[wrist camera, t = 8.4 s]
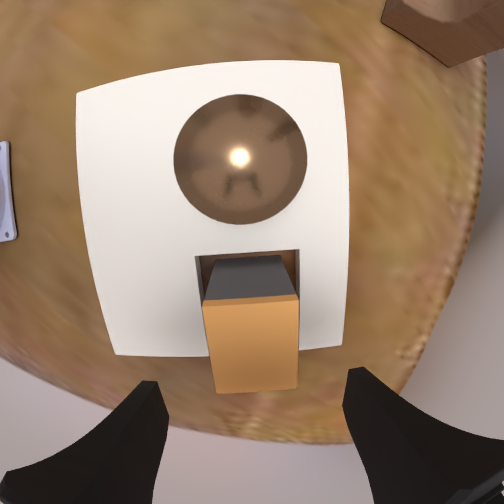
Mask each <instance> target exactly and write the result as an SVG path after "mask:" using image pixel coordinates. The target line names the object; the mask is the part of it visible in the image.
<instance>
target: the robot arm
mask: <svg viewBox="0 0 504 504" xmlns="http://www.w3.org/2000/svg"><path fill="white" fill-rule="evenodd" d="M8 233H9V235H8ZM16 236H17V232H16V225H15V219H14V212H13V204H12V194H11V183H10V166H9V143H8V142H7V141H2V142H0V242H3V241H9V240H13V239H15V238H16ZM342 407H343V411H344V415H345V419H346V422H347V426H348V429H349V431H350V434H351V436H352V438H353V441H354V443H355V446H356V448H357V450H358V453H359V455H360V458H361V460H362V462H363V465H364V467H365V470H366V473H367V476H368V479H369V483H370V487H371V491H372V495H373V500H374V504H504V496H503V495H502V493H501V491H503V490H504V486H503V484H502V481H504V440H499V439H491V438H487V437H483V436H479V435H475V434H472V433H469V432H465V431H463V430H460V429H457V428H455V427H452V426H450V425H448V424H445V423H443V422H441V421H439V420H437V419H435V418H433V417H431V416H430V415H428V414H426V413H424V412H423V411H421V410H420V409H418V408H416V407H415V406H413V405H412V404H410V403H409V402H407V401H406V400H405V399H403V398H402V397H400V396H399V395H398V394H397V393H395V392H394V391H393V390H391V389H390V388H389V387H388V386H386V385H385V384H384V383H383V382H381V381H380V380H379V379H378V378H377V377H375V376H374V375H373V374H372V373H371V372H369V371H368V370H367V369H366V368H365V367H359V368H353V369H349V371H348V377H347V383H346V388H345V394H344V399H343V404H342ZM168 423H169V414H168V411H167V409H166V406H165V403H164V400H163V397H162V394H161V392H160V389H159V386H158V382H157V381H142V382H141V383H140V384H139V385H138V386H137V387H136V388H135V389H134V390H133V391H132V392H131V393H130V394H129V395H128V396H127V397H126V398H125V399H124V400H123V401H122V402H121V403H120V404H119V405H118V406H117V407H116V408H115V409H114V410H113V411H112V412H111V414H109V415H108V416H107V417H106V418H105V419H104V420H103V421H102V422H101V423H99V424H98V425H97V426H96V427H95V428H94V429H93V430H91V431H90V432H89V433H87V434H86V435H85V436H83V437H82V438H81V439H79V440H78V441H76V442H75V443H74V444H72V445H70V446H69V447H67V448H65V449H63V450H62V451H60V452H58V453H56V454H54V455H53V456H51V457H49V458H46V459H44V460H42V461H39V462H37V463H35V464H32V465H29V466H26V467H22V468H19V469H15V470H11V471H7V472H6V474H5V476H4V477H3V480H2V481H1V483H0V501H1V502H3V503H4V504H152V497H153V489H154V484H155V479H156V476H157V472H158V468H159V465H160V461H161V457H162V453H163V449H164V446H165V442H166V438H167V431H168Z"/></svg>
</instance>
